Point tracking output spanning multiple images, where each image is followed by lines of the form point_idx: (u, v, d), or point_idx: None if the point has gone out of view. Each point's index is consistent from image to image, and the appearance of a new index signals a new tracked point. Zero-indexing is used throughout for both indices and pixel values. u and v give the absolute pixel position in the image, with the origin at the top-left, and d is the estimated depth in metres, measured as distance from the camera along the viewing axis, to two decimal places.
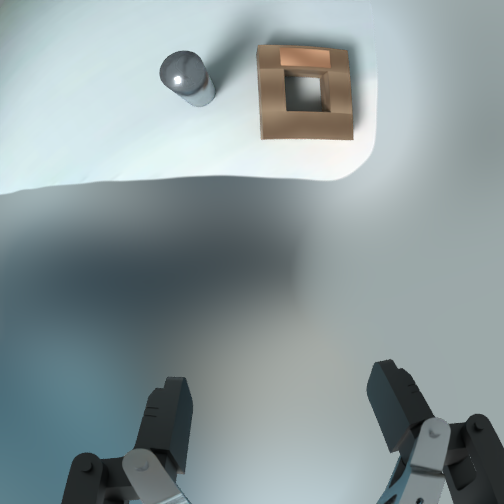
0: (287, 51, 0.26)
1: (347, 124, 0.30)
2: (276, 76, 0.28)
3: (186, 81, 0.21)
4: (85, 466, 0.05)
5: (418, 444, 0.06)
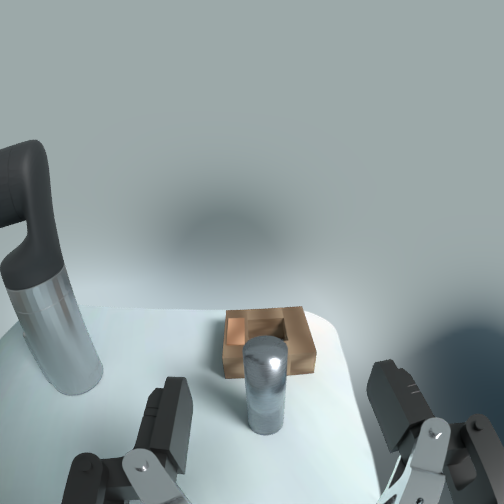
0: (230, 340, 0.37)
1: (290, 309, 0.43)
2: None
3: (278, 345, 0.24)
4: (85, 466, 0.05)
5: (418, 444, 0.06)
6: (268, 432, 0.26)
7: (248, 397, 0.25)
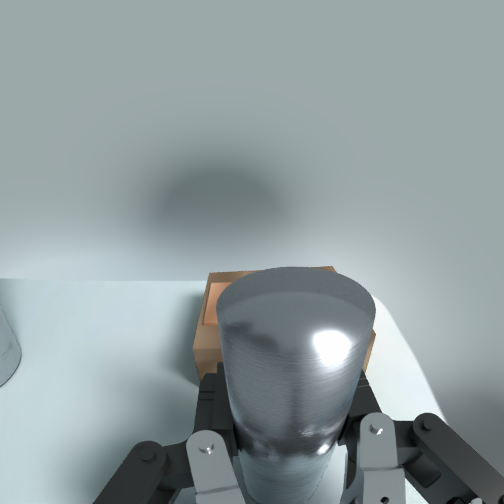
0: (211, 316, 0.20)
1: None
2: None
3: (339, 288, 0.07)
4: (147, 455, 0.06)
5: (362, 444, 0.07)
6: None
7: (241, 447, 0.08)
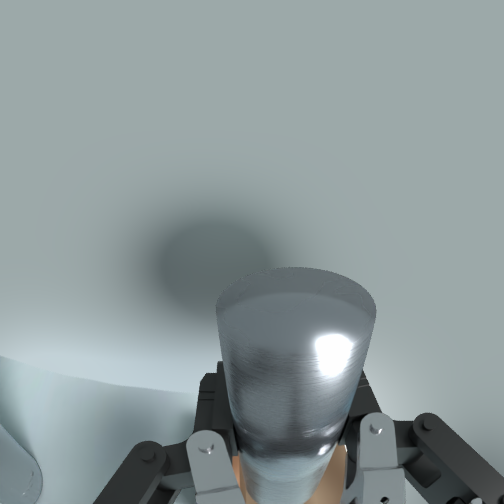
0: None
1: None
2: None
3: (339, 288, 0.07)
4: (147, 455, 0.06)
5: (362, 444, 0.07)
6: None
7: (241, 448, 0.08)
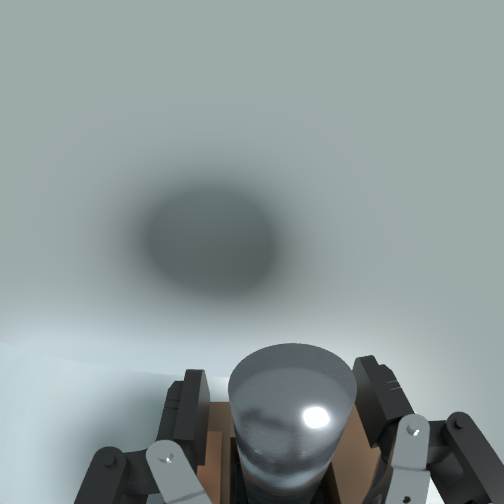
0: None
1: None
2: None
3: (329, 369, 0.08)
4: (108, 460, 0.06)
5: (397, 442, 0.06)
6: None
7: (246, 478, 0.09)
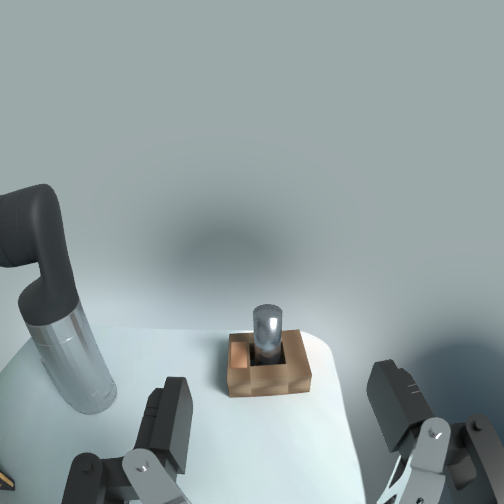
0: (234, 363, 0.40)
1: (288, 333, 0.46)
2: (257, 370, 0.38)
3: (276, 309, 0.39)
4: (85, 465, 0.05)
5: (418, 444, 0.06)
6: None
7: (256, 347, 0.40)
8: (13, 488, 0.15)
